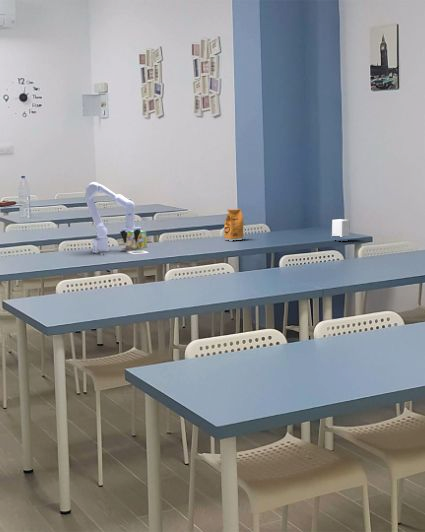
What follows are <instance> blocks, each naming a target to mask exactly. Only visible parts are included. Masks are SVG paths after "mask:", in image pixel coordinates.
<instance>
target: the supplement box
mask: <svg viewBox="0 0 425 532" xmlns="http://www.w3.org/2000/svg"><path fill="white" fill-rule="evenodd" d="M331 221H332V222H331V237H332V236H340V237H343V236H348V235H349V236H350V228H351V227H350V225H351V220H350V219H345V218H344V219H343V218H339V219H332V220H331Z"/></svg>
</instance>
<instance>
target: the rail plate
mask: <svg viewBox="0 0 425 532" xmlns="http://www.w3.org/2000/svg"><path fill="white" fill-rule="evenodd" d="M141 250H142V251H145V250H144V249H142V248H139V249H137V248H135V249H133V250H127V249H126V247H124V248H121V249H120V250H117V252H118V253H127V252H129V251H141Z"/></svg>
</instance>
